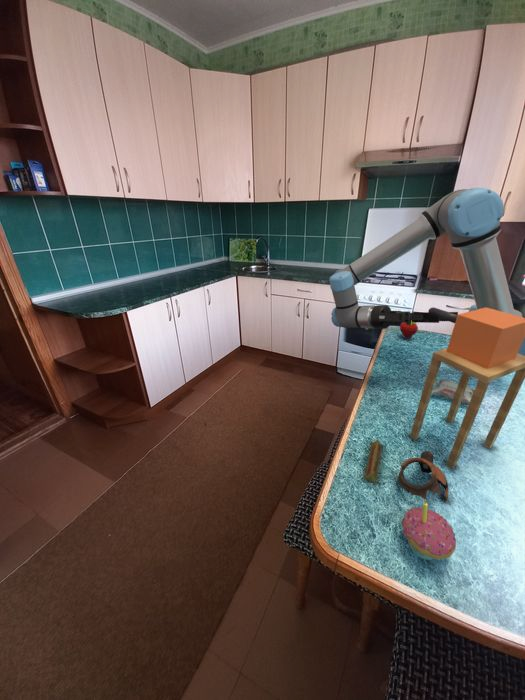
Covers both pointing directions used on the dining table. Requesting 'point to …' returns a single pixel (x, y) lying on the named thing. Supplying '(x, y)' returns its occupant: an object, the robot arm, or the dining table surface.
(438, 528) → the cupcake
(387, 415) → the dining table surface
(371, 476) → the chocolate bar
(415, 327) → the strawberry
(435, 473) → the rusty ring bracket
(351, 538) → the dining table surface
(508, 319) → the orange handled block
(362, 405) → the dining table surface
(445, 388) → the packaged food
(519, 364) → the wooden stool
